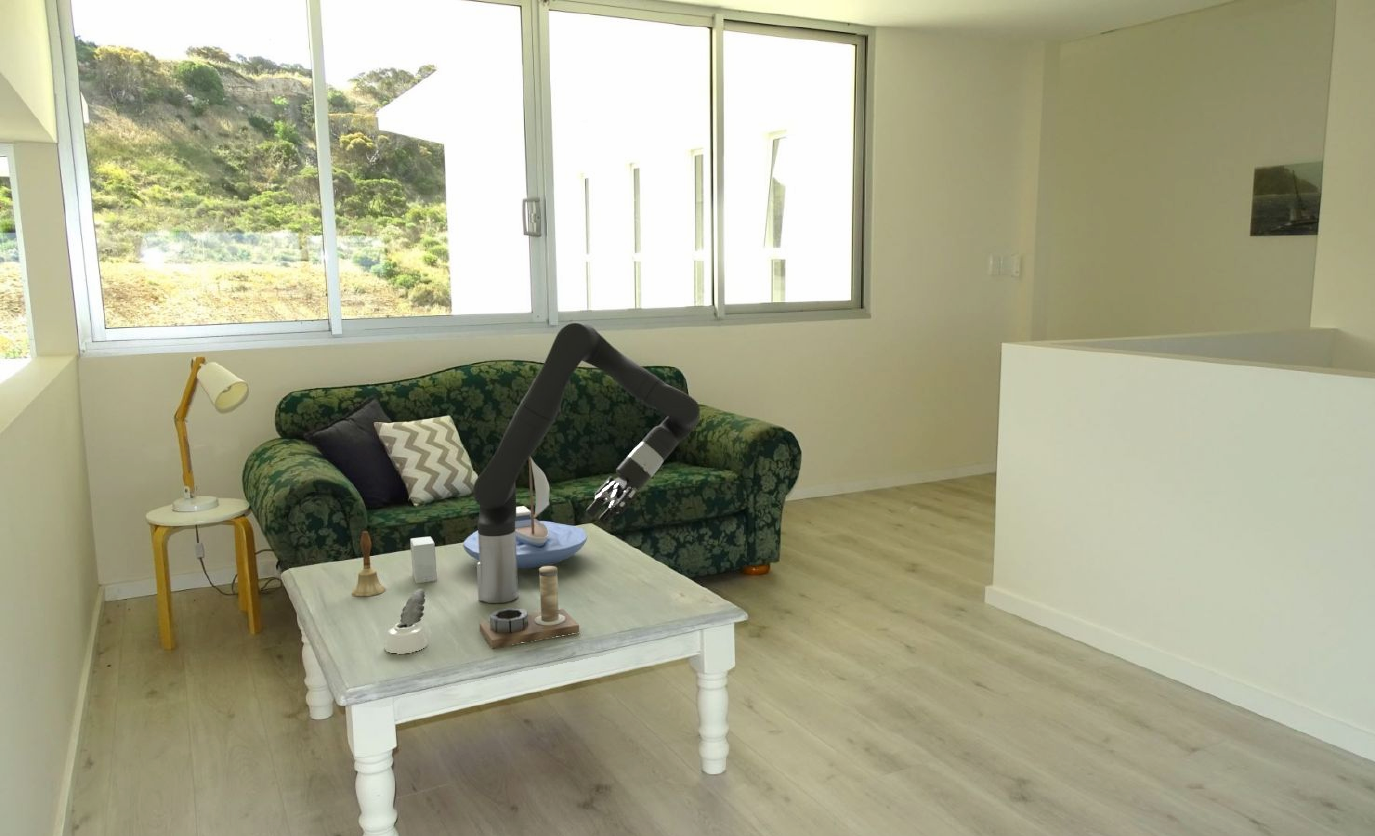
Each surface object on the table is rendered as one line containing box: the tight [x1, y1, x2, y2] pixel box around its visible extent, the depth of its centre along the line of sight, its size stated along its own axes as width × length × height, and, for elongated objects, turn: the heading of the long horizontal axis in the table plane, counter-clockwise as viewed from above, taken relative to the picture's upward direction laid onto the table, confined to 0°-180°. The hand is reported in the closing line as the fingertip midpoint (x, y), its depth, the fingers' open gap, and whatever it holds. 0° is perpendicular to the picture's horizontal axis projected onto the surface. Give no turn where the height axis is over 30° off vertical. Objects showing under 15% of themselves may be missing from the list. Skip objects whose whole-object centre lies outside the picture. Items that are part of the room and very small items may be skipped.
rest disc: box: [535, 614, 565, 626], centre depth 226 cm, size 7×7×1 cm
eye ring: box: [489, 607, 529, 634], centre depth 222 cm, size 8×8×3 cm
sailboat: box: [462, 454, 588, 570], centre depth 276 cm, size 34×35×32 cm
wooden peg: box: [538, 565, 559, 622], centre depth 225 cm, size 4×4×12 cm
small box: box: [409, 536, 438, 584], centre depth 265 cm, size 8×6×10 cm
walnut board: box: [478, 608, 580, 650], centre depth 224 cm, size 20×12×2 cm, turn 115°
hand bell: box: [351, 530, 387, 597], centre depth 254 cm, size 8×8×16 cm
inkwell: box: [384, 588, 428, 655], centre depth 221 cm, size 9×18×10 cm, turn 179°
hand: (594, 518), depth 228 cm, fingers open, 8 cm apart
